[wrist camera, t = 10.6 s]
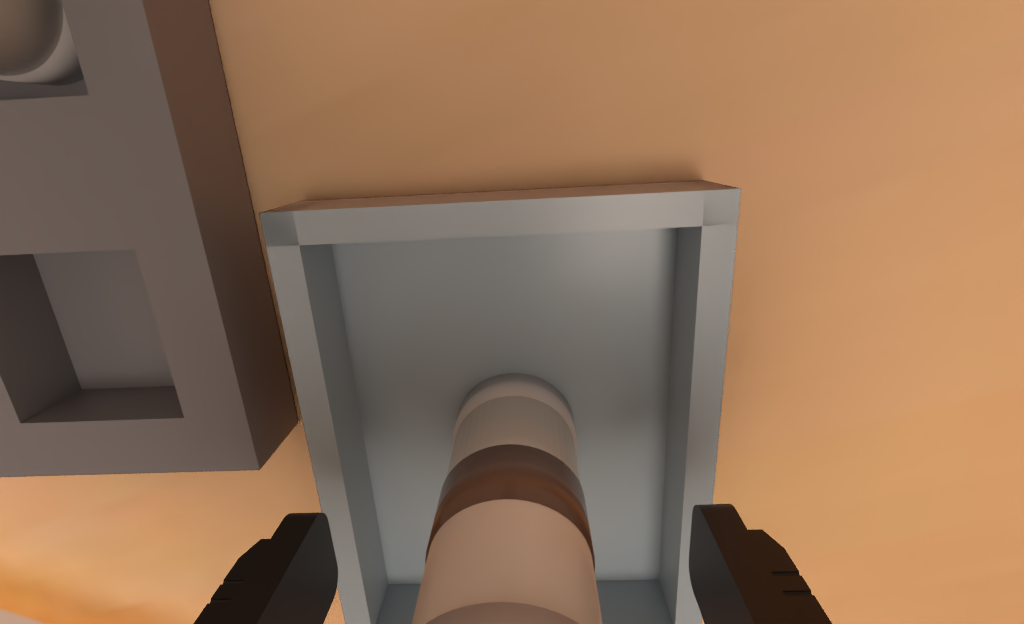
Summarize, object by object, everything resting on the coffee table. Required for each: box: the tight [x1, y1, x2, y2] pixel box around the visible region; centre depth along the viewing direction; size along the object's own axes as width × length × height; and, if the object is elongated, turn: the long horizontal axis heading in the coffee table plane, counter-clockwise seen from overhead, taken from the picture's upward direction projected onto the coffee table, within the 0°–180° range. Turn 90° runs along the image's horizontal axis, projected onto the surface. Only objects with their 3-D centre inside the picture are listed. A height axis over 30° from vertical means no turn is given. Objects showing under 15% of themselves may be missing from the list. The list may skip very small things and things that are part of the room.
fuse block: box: [0, 0, 298, 477], centre depth 13 cm, size 16×8×2 cm, turn 3°
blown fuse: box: [412, 373, 602, 624], centre depth 11 cm, size 4×4×9 cm
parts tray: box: [259, 180, 741, 624], centre depth 15 cm, size 14×11×2 cm
